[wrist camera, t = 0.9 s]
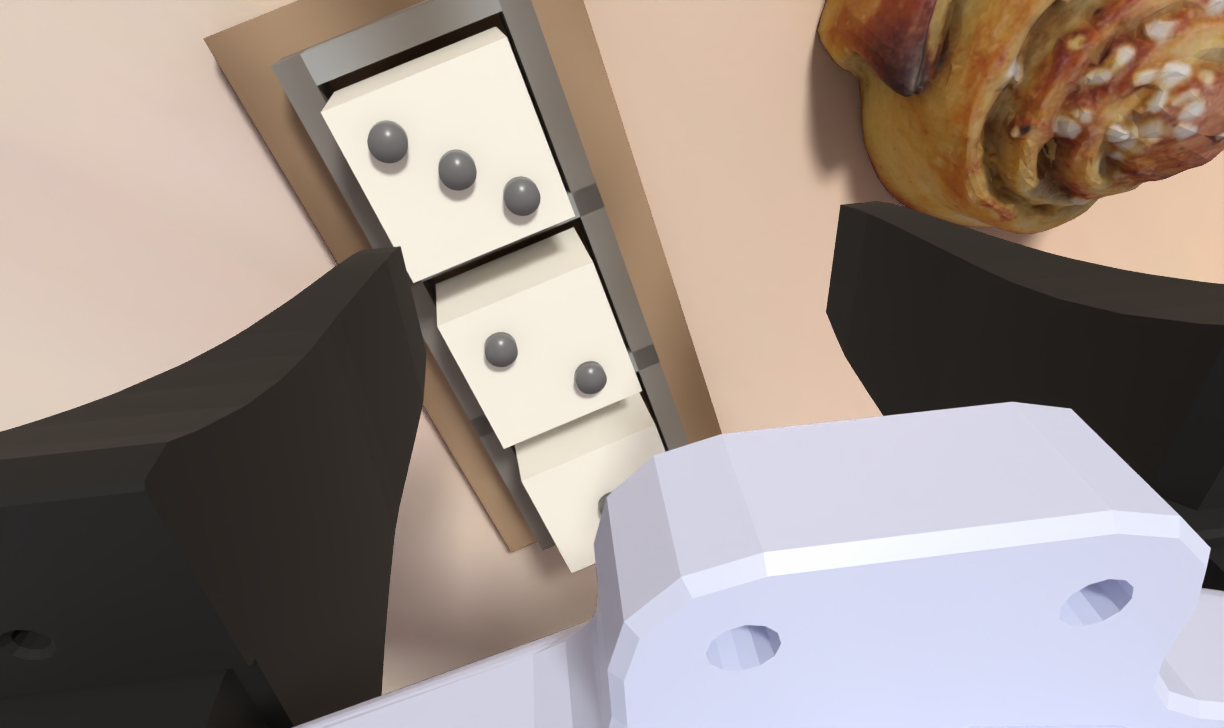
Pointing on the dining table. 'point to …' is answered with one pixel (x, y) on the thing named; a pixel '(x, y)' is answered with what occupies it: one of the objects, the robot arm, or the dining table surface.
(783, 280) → the dining table surface
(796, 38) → the dining table surface
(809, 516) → the robot arm
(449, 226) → the tile three
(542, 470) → the tile one
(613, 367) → the tile two
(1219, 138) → the pastry
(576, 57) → the board
